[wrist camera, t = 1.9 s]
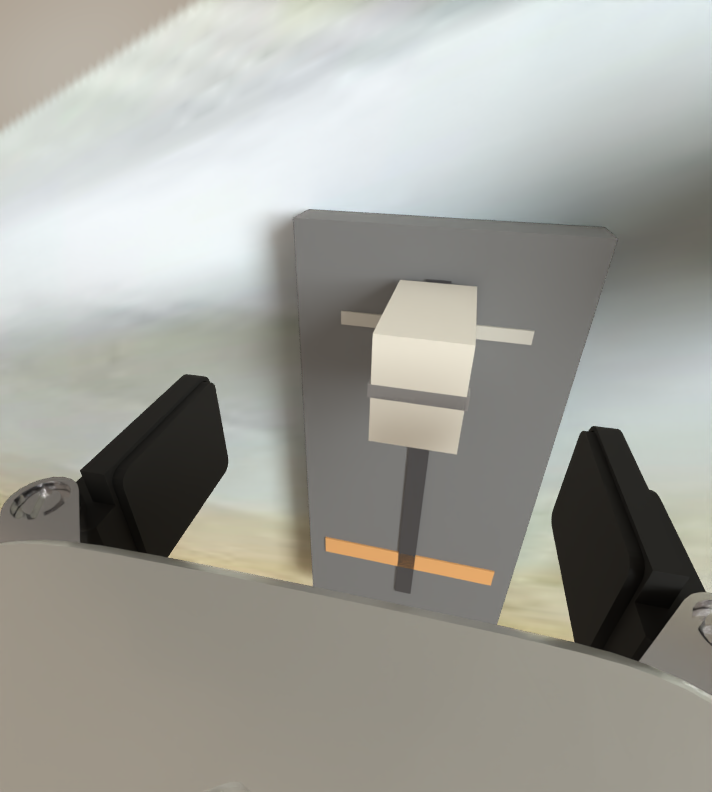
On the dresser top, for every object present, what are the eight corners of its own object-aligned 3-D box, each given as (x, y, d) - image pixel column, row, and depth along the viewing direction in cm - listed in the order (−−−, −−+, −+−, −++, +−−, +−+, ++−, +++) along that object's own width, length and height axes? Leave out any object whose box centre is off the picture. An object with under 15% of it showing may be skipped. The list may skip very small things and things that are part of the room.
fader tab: (479, 286, 17) (479, 345, 13) (464, 377, 19) (459, 455, 15) (397, 279, 18) (369, 333, 13) (391, 368, 20) (365, 439, 16)
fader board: (605, 227, 17) (618, 239, 16) (494, 602, 30) (494, 632, 28) (309, 209, 20) (292, 218, 18) (322, 565, 32) (312, 591, 31)
